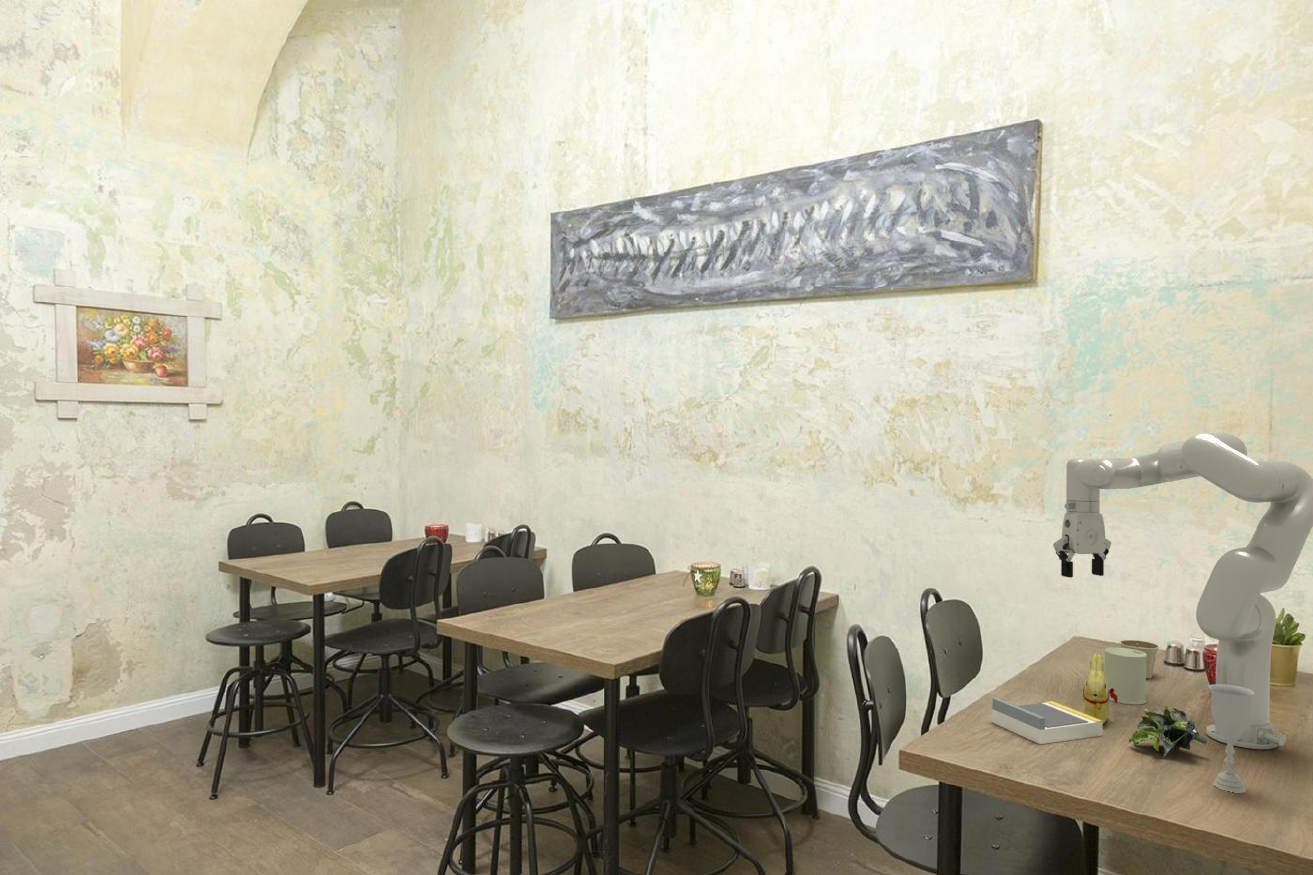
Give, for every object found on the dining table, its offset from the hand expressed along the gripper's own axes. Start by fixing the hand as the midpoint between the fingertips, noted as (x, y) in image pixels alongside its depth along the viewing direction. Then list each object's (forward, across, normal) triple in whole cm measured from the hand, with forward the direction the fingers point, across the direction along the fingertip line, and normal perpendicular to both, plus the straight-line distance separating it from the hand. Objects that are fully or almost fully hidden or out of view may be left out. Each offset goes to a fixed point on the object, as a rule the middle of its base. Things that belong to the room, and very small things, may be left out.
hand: (1082, 575), depth 215 cm
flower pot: (+29, +27, +8) cm, 40 cm away
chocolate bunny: (+30, -14, -19) cm, 38 cm away
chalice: (+30, -20, -54) cm, 65 cm away
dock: (+29, -29, -19) cm, 45 cm away
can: (+30, +6, -7) cm, 31 cm away
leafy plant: (+30, -16, -38) cm, 51 cm away
